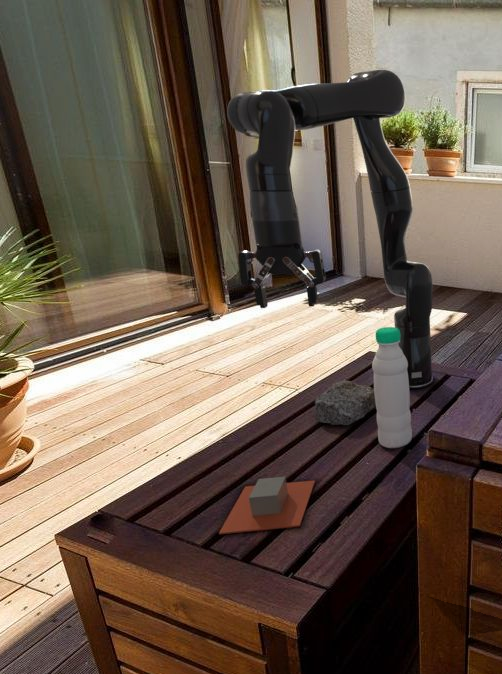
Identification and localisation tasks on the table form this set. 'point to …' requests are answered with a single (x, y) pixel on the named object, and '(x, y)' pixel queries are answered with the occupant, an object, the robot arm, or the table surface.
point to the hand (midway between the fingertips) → (288, 306)
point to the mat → (287, 518)
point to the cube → (268, 496)
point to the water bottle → (391, 390)
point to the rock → (344, 403)
